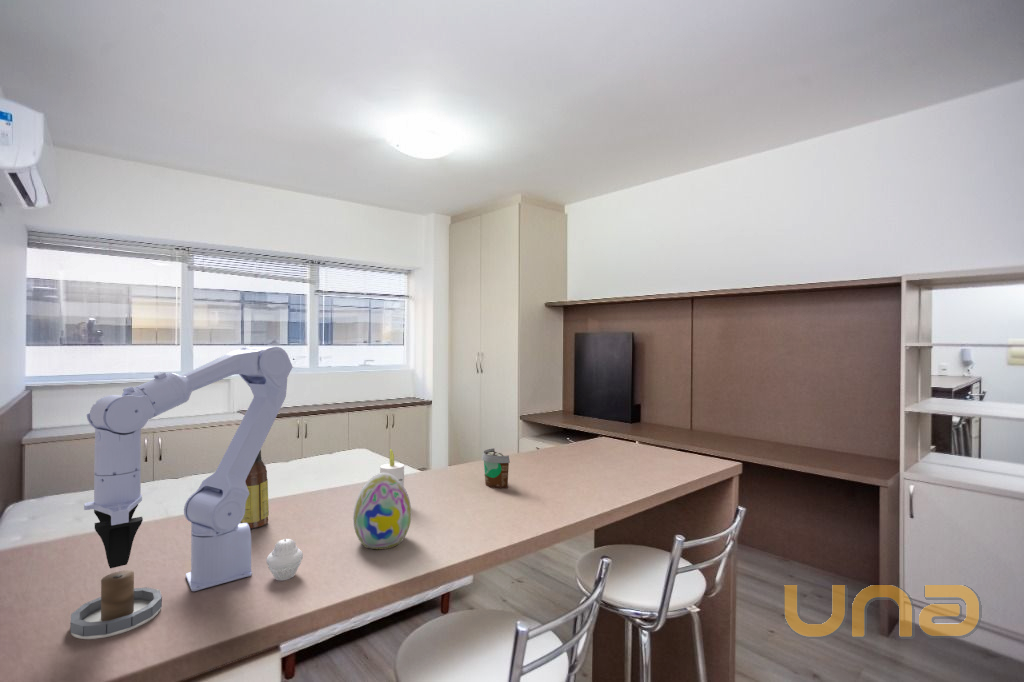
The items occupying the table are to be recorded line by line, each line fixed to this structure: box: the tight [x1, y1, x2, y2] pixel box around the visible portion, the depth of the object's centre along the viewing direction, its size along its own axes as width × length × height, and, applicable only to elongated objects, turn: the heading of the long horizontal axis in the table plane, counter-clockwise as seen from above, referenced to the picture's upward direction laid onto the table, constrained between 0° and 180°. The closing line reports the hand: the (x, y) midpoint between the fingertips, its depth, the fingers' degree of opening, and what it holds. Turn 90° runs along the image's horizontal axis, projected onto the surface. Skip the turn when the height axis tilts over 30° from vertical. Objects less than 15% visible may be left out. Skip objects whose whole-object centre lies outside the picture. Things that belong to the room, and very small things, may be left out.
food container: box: [481, 447, 511, 489], centre depth 149 cm, size 12×6×10 cm, turn 25°
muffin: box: [266, 538, 304, 581], centre depth 90 cm, size 6×6×7 cm
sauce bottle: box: [240, 449, 270, 530], centre depth 116 cm, size 7×6×20 cm
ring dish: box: [69, 587, 163, 640], centre depth 76 cm, size 11×11×2 cm
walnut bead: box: [100, 569, 135, 621], centre depth 76 cm, size 4×4×6 cm
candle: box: [379, 448, 405, 487], centre depth 131 cm, size 6×6×15 cm
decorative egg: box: [352, 472, 412, 550], centre depth 106 cm, size 12×12×15 cm
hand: (117, 557), depth 77 cm, fingers open, 7 cm apart
